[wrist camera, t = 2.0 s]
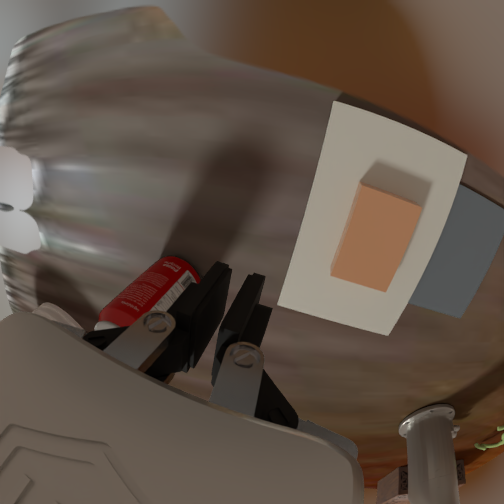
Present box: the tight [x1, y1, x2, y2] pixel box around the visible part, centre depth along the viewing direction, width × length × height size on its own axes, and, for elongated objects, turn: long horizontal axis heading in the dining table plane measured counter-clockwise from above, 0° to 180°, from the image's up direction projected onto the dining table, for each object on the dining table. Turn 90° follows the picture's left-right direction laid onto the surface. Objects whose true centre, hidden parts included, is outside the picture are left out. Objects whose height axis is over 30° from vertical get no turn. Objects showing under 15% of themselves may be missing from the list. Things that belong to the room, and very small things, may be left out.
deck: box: [277, 101, 467, 336], centre depth 26 cm, size 14×22×4 cm, turn 169°
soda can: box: [95, 256, 201, 330], centre depth 31 cm, size 8×8×15 cm
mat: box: [408, 184, 504, 318], centre depth 26 cm, size 12×16×1 cm
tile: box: [330, 181, 422, 293], centre depth 24 cm, size 6×9×2 cm, turn 169°
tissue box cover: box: [376, 459, 466, 504], centre depth 46 cm, size 26×14×10 cm, turn 86°
